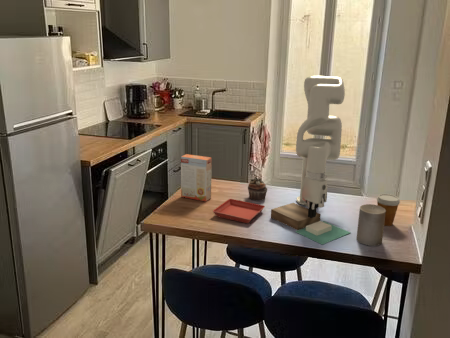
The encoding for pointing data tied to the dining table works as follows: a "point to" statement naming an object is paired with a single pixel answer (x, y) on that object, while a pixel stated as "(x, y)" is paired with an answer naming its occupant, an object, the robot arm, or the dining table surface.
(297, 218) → the brown flat block
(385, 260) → the dining table surface
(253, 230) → the dining table surface
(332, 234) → the mat
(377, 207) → the pillar candle
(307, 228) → the beige flat block
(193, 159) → the cracker box
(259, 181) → the cupcake
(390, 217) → the disposable coffee cup
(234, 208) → the plant saucer
